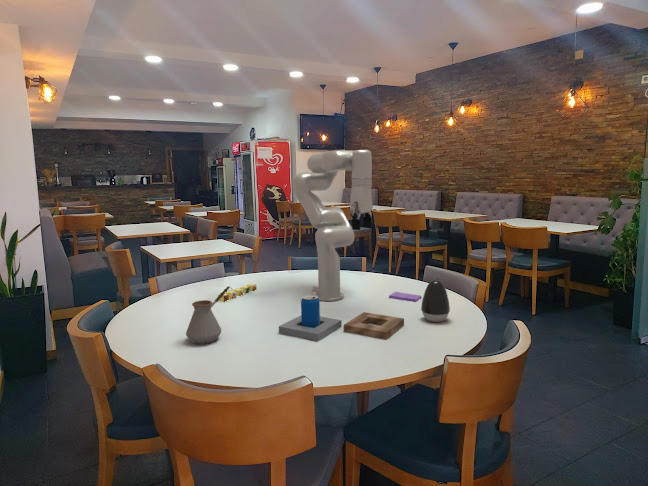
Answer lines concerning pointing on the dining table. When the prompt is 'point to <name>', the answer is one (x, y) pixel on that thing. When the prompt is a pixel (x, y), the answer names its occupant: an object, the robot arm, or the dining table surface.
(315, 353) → the dining table surface
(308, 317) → the beverage can
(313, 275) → the dining table surface
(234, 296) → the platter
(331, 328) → the socket
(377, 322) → the socket
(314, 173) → the robot arm
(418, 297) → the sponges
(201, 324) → the coffee pot
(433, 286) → the black rounded egg shape
